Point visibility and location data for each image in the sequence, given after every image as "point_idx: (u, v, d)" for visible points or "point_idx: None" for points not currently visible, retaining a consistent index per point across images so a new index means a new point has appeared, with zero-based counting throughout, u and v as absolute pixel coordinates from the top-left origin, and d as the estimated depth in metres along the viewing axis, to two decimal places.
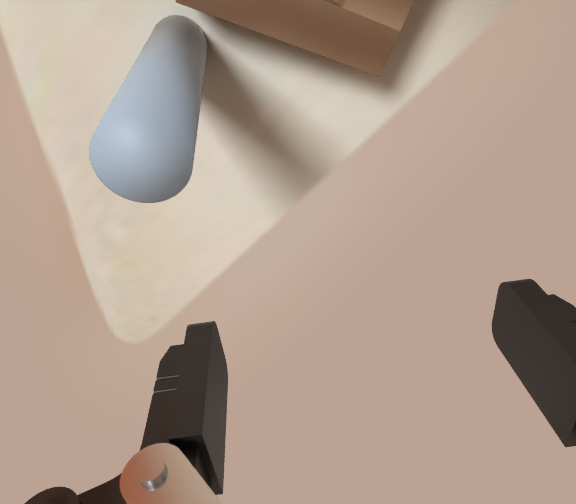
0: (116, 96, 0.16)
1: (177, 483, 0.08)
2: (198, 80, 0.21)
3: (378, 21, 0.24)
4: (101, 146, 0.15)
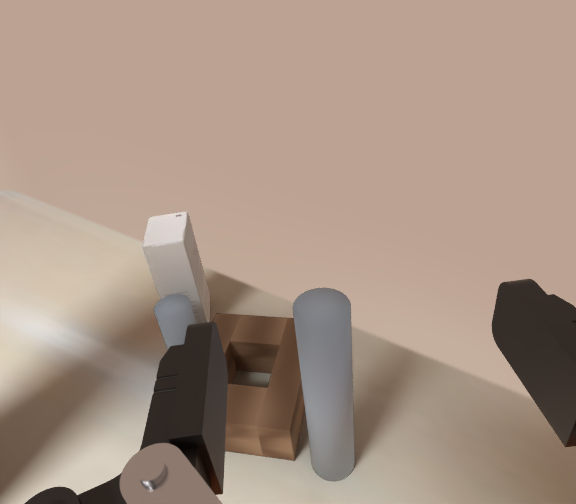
0: (305, 354, 0.26)
1: (177, 483, 0.08)
2: None
3: (284, 328, 0.42)
4: (316, 321, 0.25)
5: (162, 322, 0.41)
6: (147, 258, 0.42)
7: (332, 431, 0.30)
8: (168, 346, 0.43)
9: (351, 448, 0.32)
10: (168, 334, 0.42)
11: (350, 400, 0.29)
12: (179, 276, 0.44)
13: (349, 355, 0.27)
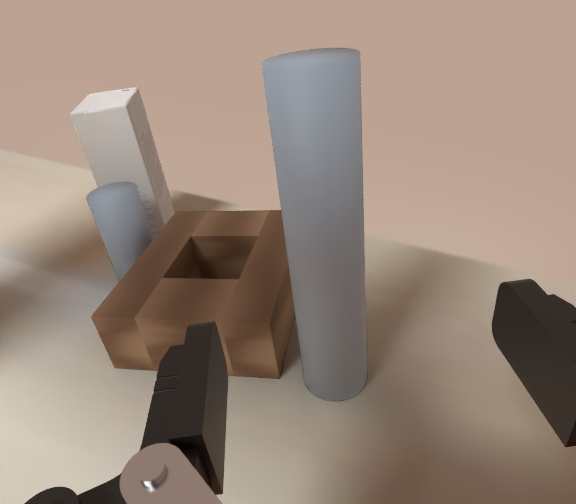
0: (286, 147, 0.16)
1: (177, 483, 0.08)
2: None
3: (264, 219, 0.31)
4: (301, 66, 0.14)
5: (97, 212, 0.30)
6: (79, 132, 0.32)
7: (333, 305, 0.19)
8: (109, 251, 0.32)
9: (362, 345, 0.21)
10: (107, 230, 0.31)
11: (361, 252, 0.19)
12: (125, 162, 0.33)
13: (359, 155, 0.16)
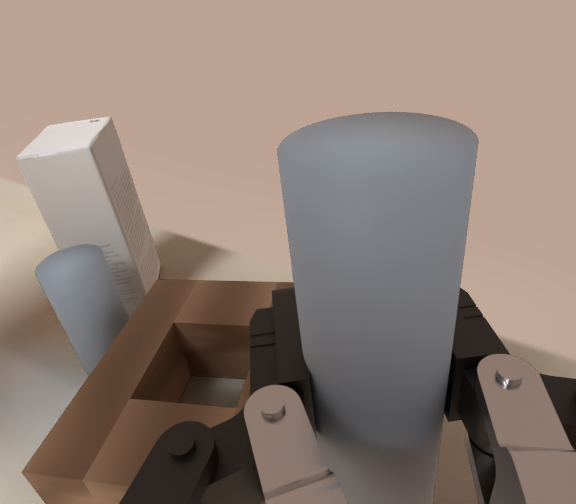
0: (323, 308, 0.08)
1: (298, 417, 0.09)
2: None
3: (271, 298, 0.24)
4: (363, 173, 0.07)
5: (49, 291, 0.22)
6: (28, 181, 0.24)
7: None
8: (69, 336, 0.24)
9: None
10: (64, 313, 0.23)
11: (439, 443, 0.11)
12: (91, 216, 0.26)
13: (456, 312, 0.09)
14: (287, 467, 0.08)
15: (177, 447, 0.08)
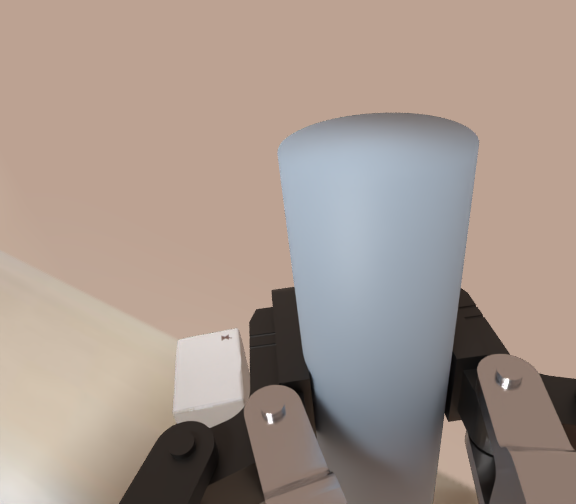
0: (323, 309, 0.08)
1: (298, 417, 0.09)
2: None
3: None
4: (364, 173, 0.07)
5: None
6: None
7: None
8: None
9: None
10: None
11: (439, 443, 0.11)
12: None
13: (456, 313, 0.09)
14: (287, 467, 0.08)
15: (177, 447, 0.08)
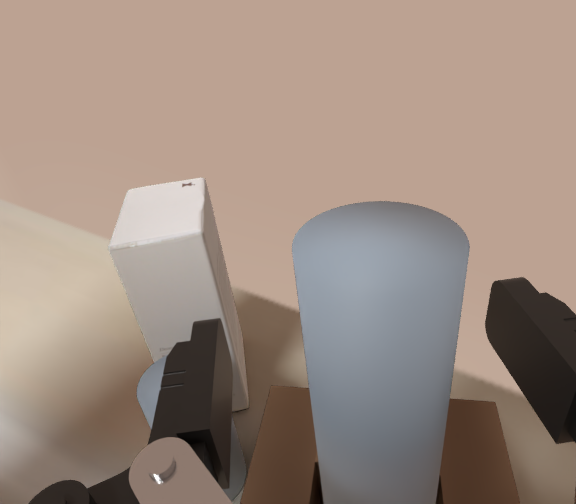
0: (332, 384, 0.09)
1: (186, 476, 0.08)
2: None
3: None
4: (369, 281, 0.08)
5: None
6: (121, 273, 0.19)
7: None
8: None
9: None
10: None
11: (436, 490, 0.12)
12: (193, 310, 0.21)
13: (450, 383, 0.10)
14: None
15: None
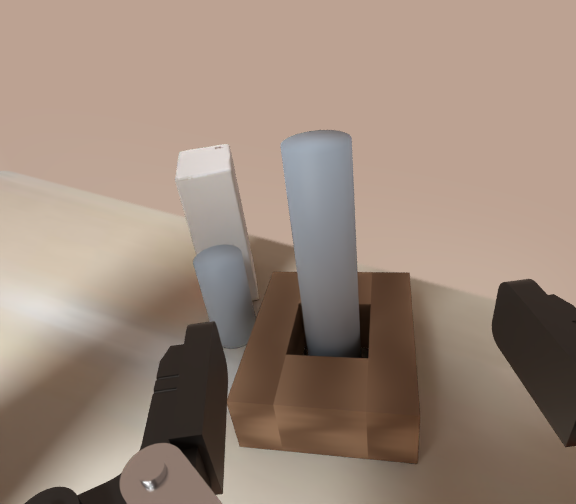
0: (298, 205, 0.22)
1: (177, 483, 0.08)
2: None
3: (371, 284, 0.31)
4: (309, 151, 0.20)
5: (206, 279, 0.30)
6: (182, 196, 0.31)
7: (333, 318, 0.25)
8: (212, 315, 0.32)
9: (357, 350, 0.27)
10: (214, 297, 0.30)
11: (354, 278, 0.24)
12: (224, 223, 0.33)
13: (351, 209, 0.22)
14: None
15: None
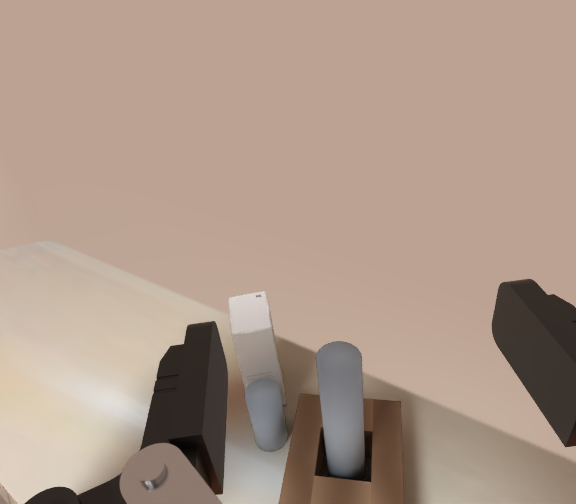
0: (326, 396, 0.33)
1: (177, 483, 0.08)
2: None
3: (372, 411, 0.43)
4: (335, 371, 0.32)
5: (255, 410, 0.41)
6: (235, 344, 0.43)
7: (347, 455, 0.37)
8: (256, 430, 0.43)
9: (363, 469, 0.39)
10: (259, 421, 0.42)
11: (362, 430, 0.36)
12: (264, 359, 0.45)
13: (361, 395, 0.34)
14: None
15: None
